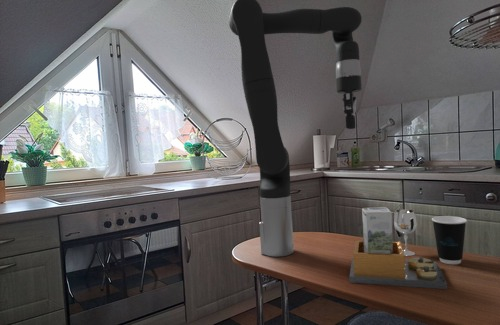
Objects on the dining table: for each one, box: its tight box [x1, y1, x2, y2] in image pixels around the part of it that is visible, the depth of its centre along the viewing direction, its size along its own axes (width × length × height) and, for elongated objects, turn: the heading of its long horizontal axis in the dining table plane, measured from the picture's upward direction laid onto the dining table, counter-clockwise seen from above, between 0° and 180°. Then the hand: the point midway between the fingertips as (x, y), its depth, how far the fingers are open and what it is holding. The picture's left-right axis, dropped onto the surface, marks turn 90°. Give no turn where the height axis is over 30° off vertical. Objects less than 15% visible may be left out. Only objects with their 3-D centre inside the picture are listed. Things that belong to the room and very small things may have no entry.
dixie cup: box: [431, 215, 468, 265], centre depth 91 cm, size 8×8×11 cm
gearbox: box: [348, 240, 448, 290], centre depth 85 cm, size 20×13×6 cm, turn 71°
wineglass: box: [393, 208, 417, 257], centre depth 99 cm, size 6×6×12 cm
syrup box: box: [361, 206, 393, 254], centre depth 85 cm, size 6×6×14 cm
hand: (351, 128), depth 111 cm, fingers open, 8 cm apart
